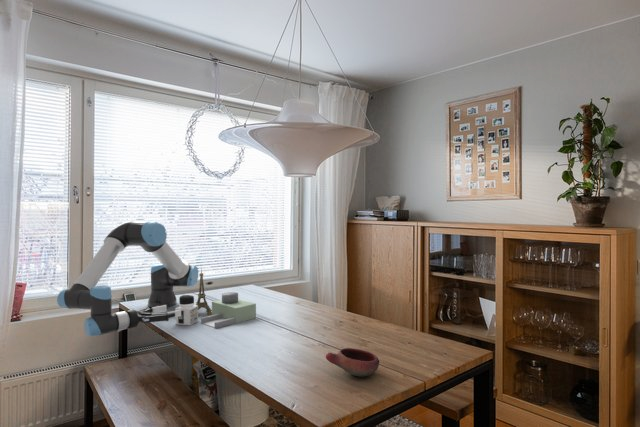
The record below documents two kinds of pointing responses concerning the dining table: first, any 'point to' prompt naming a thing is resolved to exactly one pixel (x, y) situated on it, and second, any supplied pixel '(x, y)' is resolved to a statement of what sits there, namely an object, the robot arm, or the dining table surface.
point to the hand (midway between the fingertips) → (173, 310)
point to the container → (187, 311)
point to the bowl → (355, 361)
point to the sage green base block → (229, 311)
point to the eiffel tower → (202, 296)
